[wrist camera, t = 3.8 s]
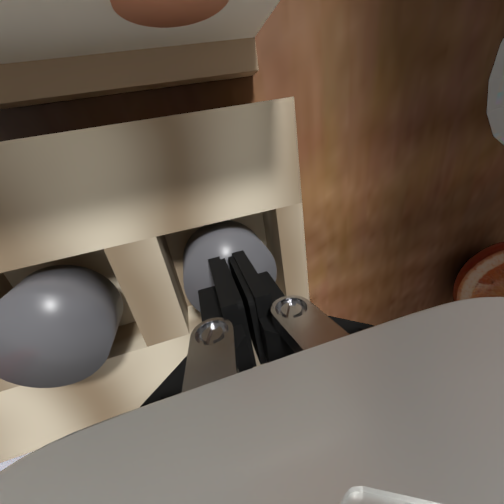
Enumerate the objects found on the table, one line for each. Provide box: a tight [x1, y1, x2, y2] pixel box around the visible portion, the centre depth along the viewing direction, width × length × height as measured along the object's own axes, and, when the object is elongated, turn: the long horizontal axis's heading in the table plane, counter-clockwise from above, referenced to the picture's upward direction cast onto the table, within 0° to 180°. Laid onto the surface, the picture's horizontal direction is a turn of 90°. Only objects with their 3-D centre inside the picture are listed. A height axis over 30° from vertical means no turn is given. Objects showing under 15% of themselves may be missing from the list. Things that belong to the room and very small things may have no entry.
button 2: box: [183, 220, 277, 312], centre depth 13 cm, size 4×4×2 cm
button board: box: [0, 97, 309, 463], centre depth 12 cm, size 23×14×4 cm, turn 99°
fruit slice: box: [453, 242, 504, 301], centre depth 20 cm, size 8×7×5 cm
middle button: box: [0, 265, 123, 388], centre depth 11 cm, size 4×4×2 cm
